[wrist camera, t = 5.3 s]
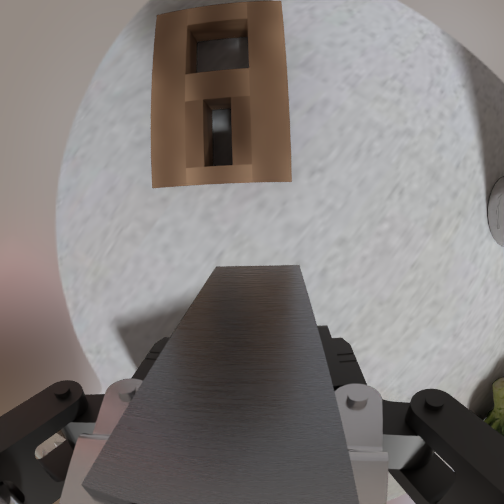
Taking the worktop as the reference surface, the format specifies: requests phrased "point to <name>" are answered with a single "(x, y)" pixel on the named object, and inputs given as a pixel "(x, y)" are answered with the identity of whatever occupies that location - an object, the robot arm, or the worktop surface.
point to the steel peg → (233, 405)
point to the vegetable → (497, 407)
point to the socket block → (220, 97)
